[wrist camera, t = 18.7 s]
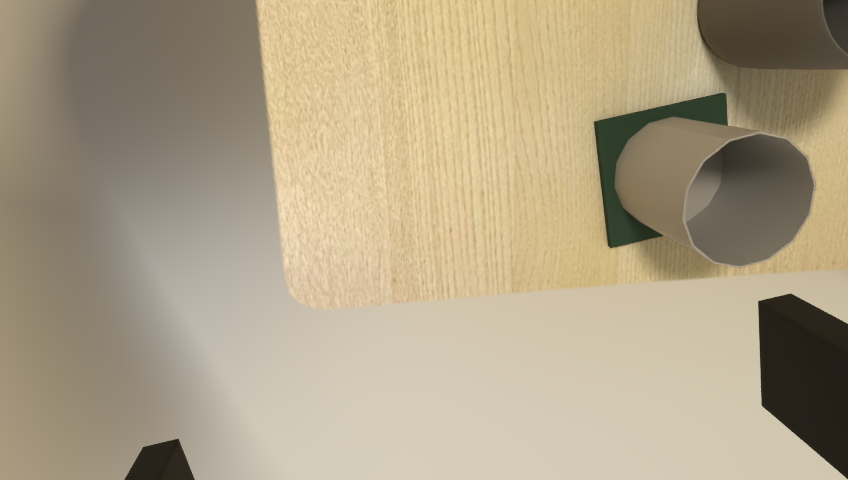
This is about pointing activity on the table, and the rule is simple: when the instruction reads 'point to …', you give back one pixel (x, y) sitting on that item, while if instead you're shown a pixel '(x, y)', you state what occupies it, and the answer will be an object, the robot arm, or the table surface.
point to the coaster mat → (612, 143)
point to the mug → (777, 32)
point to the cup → (717, 188)
